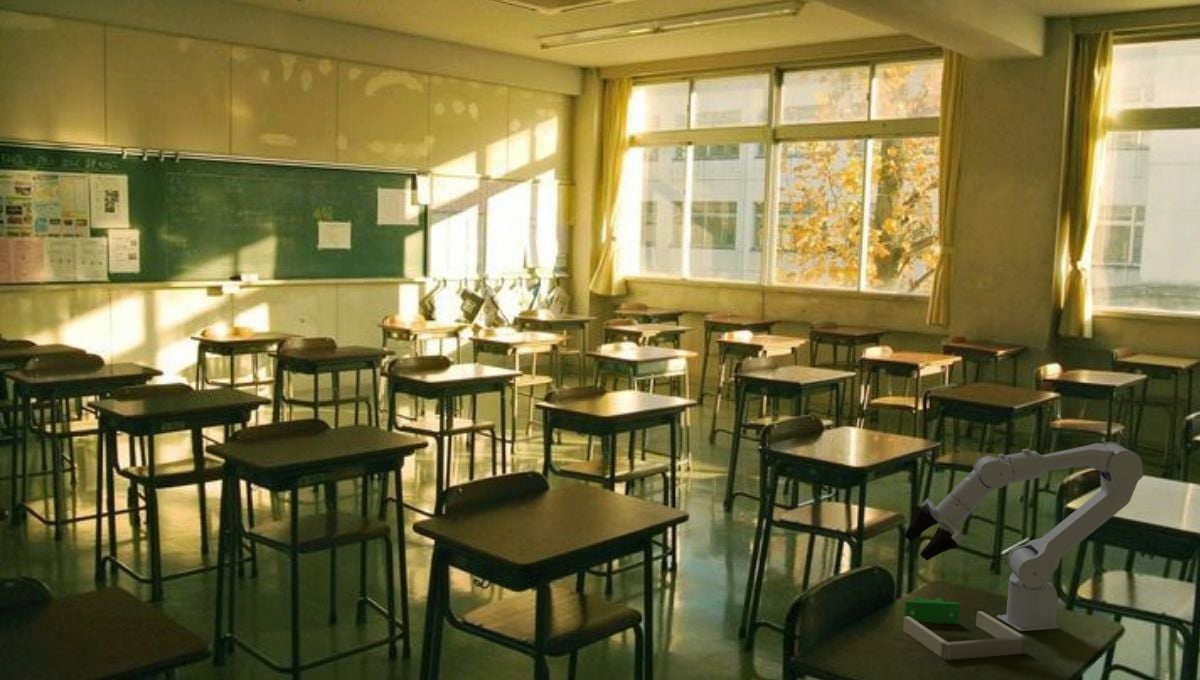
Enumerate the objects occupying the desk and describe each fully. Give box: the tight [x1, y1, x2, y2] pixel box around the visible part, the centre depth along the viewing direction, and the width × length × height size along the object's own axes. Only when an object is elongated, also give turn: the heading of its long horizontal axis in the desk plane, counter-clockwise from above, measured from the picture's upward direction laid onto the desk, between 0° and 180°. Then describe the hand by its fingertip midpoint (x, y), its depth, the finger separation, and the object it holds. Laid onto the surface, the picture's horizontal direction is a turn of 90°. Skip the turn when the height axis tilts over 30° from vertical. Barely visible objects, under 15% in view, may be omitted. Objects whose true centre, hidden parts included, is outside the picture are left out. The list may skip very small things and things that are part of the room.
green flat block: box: [903, 596, 961, 625], centre depth 216 cm, size 11×4×5 cm, turn 89°
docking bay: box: [902, 610, 1029, 661], centre depth 205 cm, size 18×15×3 cm
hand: (915, 547), depth 217 cm, fingers open, 7 cm apart
